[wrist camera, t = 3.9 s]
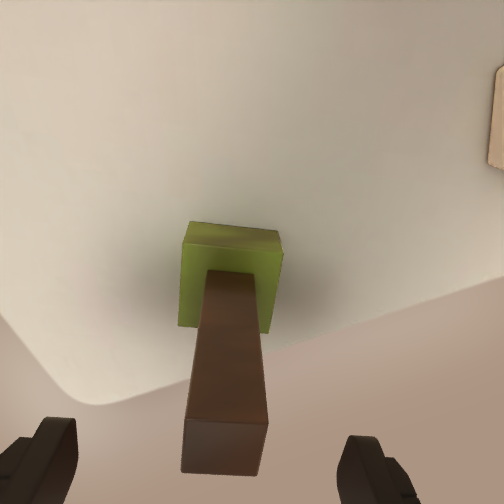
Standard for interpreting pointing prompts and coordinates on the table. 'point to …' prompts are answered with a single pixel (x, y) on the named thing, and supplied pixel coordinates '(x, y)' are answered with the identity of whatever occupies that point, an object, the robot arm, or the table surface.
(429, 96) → the table surface
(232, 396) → the green-headed mallet
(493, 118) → the jar
